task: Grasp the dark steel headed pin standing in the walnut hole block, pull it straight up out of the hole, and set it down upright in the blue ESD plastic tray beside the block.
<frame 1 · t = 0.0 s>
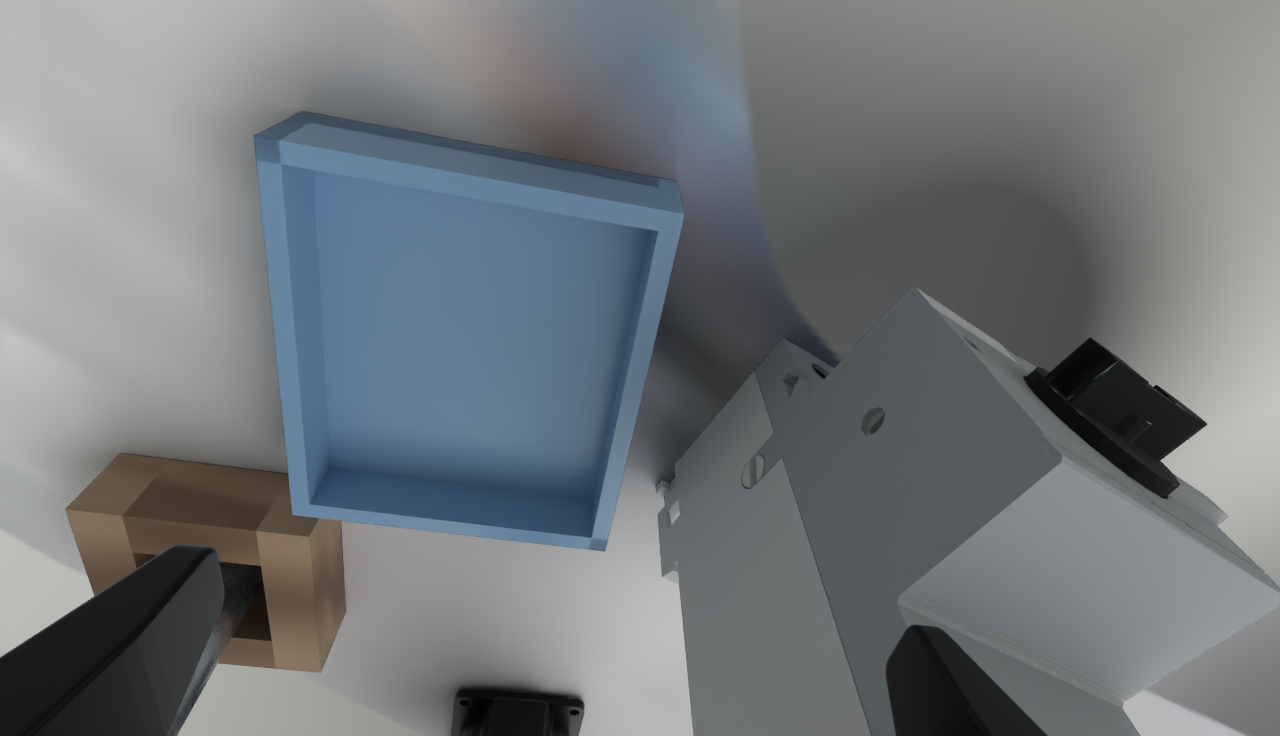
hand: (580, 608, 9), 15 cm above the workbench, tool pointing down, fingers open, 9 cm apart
pin: (170, 655, 24), in the hole block
hole block: (243, 540, 28), on the workbench
tray: (480, 336, 23), on the workbench
circuit breaker: (842, 399, 25), on the workbench
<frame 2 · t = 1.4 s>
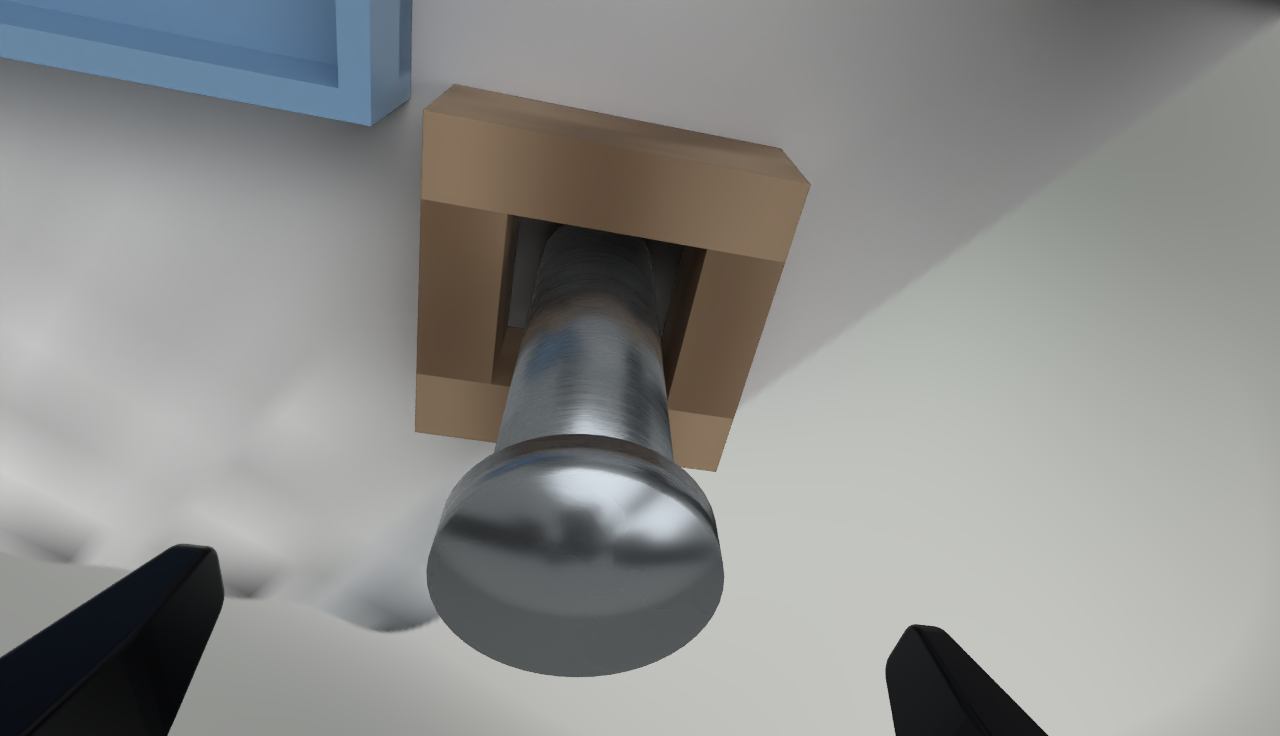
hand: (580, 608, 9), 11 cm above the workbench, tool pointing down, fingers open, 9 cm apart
pin: (590, 374, 14), in the hole block
hole block: (596, 268, 18), on the workbench
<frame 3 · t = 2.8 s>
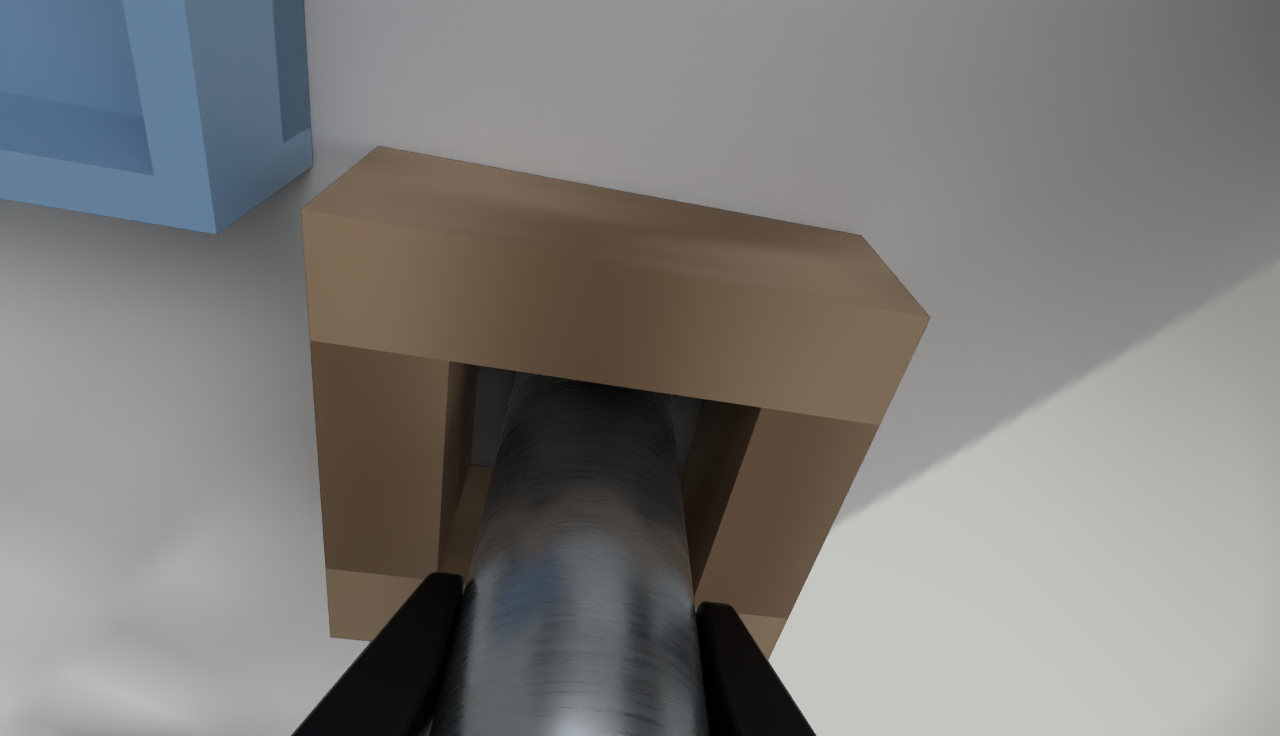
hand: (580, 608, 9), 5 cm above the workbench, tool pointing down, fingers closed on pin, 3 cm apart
pin: (577, 633, 8), in the hole block, touching gripper
hole block: (592, 393, 13), on the workbench
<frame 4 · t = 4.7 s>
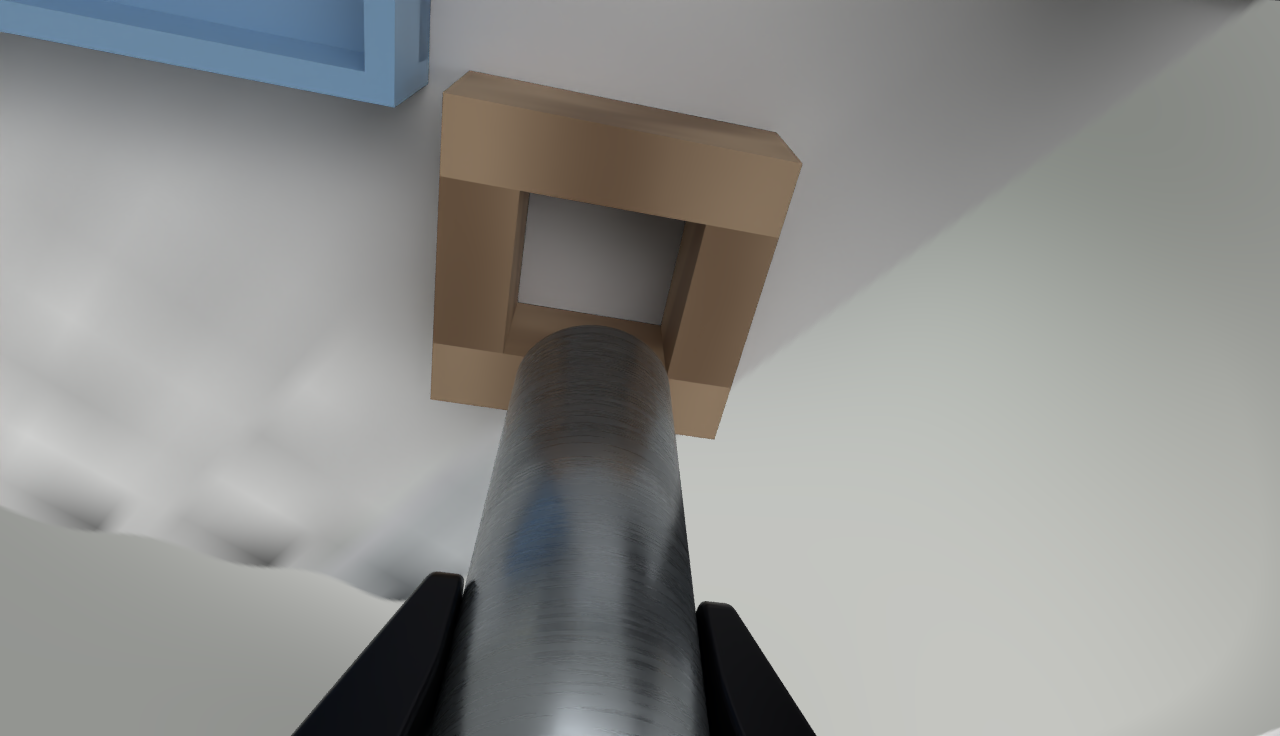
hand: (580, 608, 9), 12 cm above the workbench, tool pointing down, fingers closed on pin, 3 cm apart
pin: (578, 634, 8), point 13 cm above the workbench, touching gripper
hole block: (601, 247, 19), on the workbench
when the fingers open (7 cm above the workbench, at t = 7.0 s): pin stays where it is, resting on tray.
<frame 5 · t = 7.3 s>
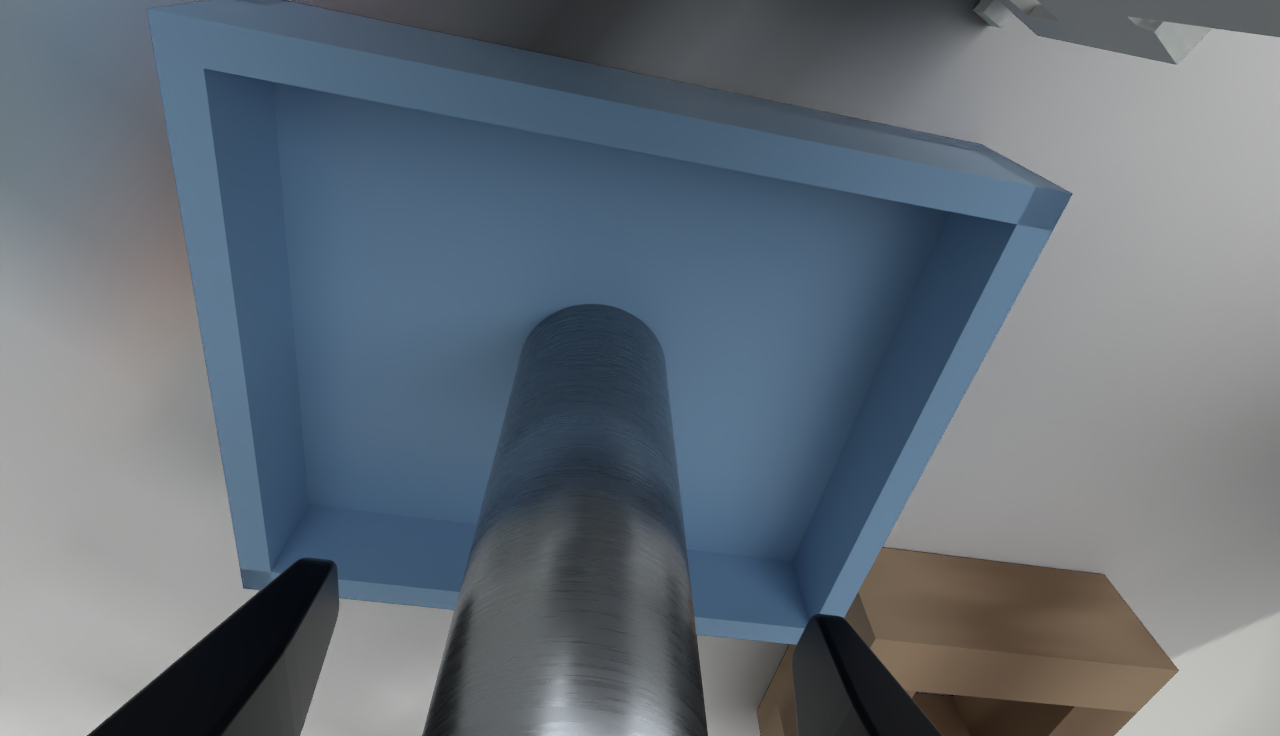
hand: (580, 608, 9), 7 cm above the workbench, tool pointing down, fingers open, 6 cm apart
pin: (579, 571, 9), in the tray, point 6 cm above the workbench
hole block: (917, 648, 21), on the workbench
tray: (594, 341, 15), on the workbench
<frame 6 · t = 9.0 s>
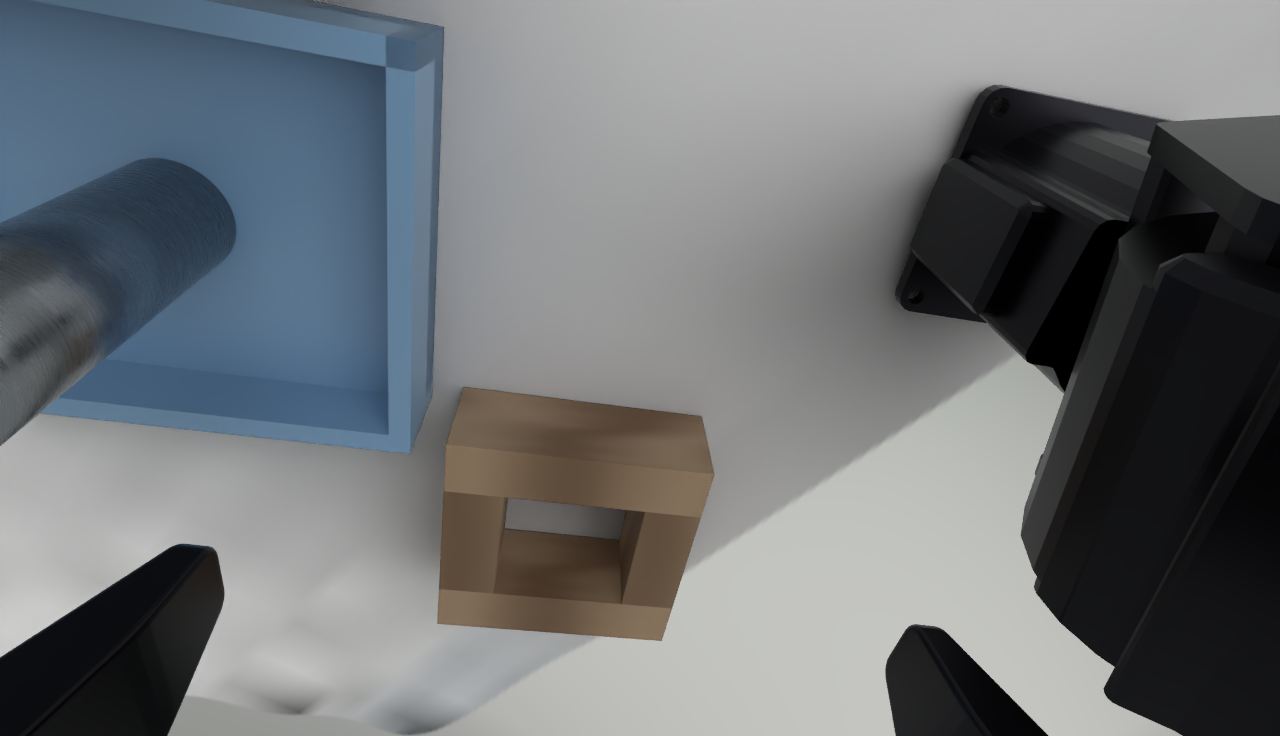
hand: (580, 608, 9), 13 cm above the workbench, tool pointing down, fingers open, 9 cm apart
pin: (25, 310, 13), in the tray, point 6 cm above the workbench
hole block: (570, 491, 25), on the workbench
tray: (192, 200, 18), on the workbench
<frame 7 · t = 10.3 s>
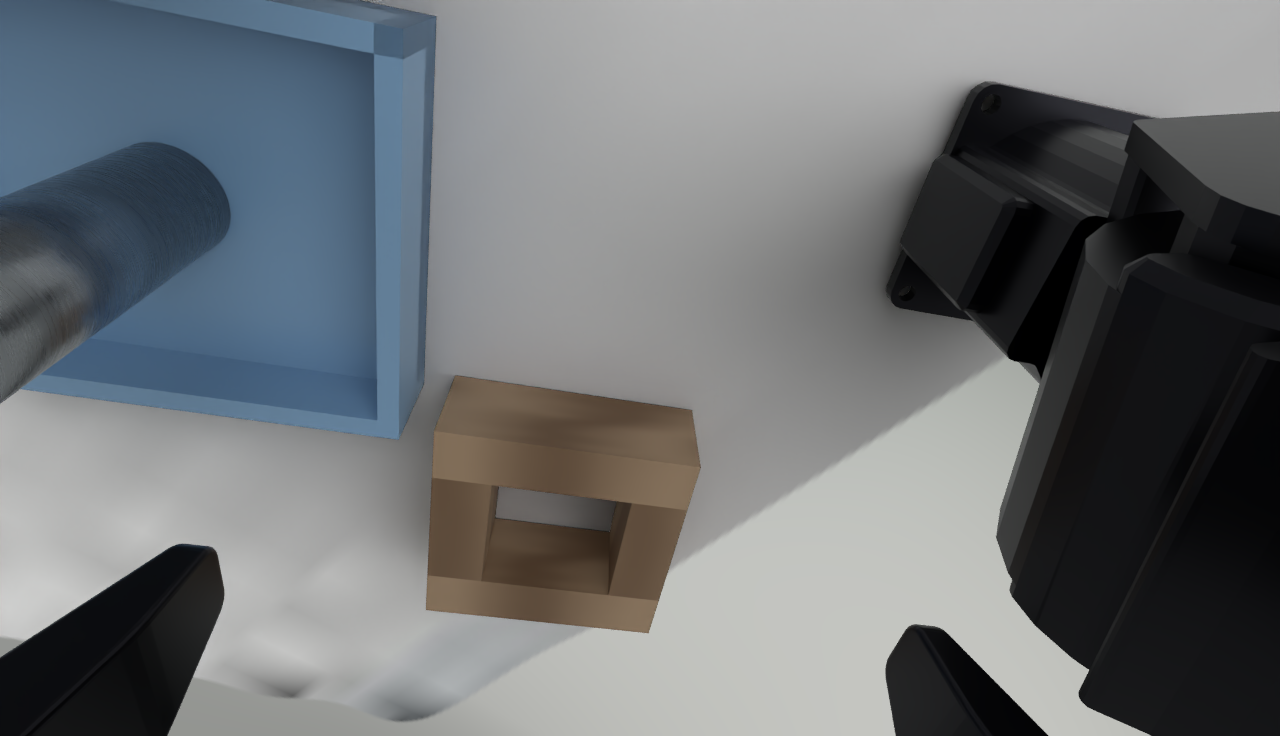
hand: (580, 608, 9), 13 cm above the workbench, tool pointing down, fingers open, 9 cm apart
pin: (14, 286, 13), in the tray, point 6 cm above the workbench
hole block: (560, 482, 25), on the workbench
tray: (189, 185, 19), on the workbench
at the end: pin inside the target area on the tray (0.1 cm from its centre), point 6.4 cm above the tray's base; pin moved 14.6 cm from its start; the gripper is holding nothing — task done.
